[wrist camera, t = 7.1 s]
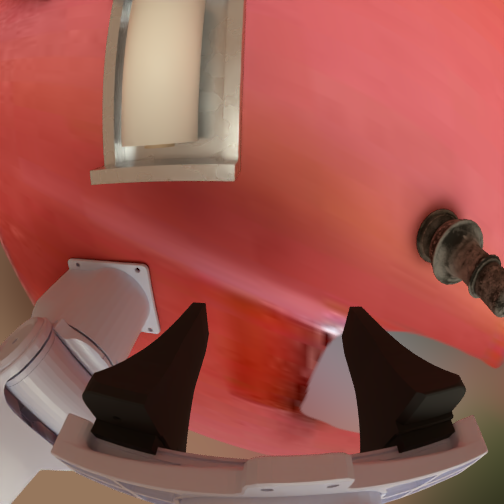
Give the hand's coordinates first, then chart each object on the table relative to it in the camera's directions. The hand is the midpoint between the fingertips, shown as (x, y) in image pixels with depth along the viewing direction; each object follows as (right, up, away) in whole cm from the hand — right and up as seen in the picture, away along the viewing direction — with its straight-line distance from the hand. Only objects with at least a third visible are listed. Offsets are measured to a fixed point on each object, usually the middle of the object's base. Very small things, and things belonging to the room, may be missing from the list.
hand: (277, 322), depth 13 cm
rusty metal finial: (+16, +5, +7) cm, 18 cm away
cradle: (-7, +17, +3) cm, 18 cm away
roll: (-7, +17, +3) cm, 18 cm away
